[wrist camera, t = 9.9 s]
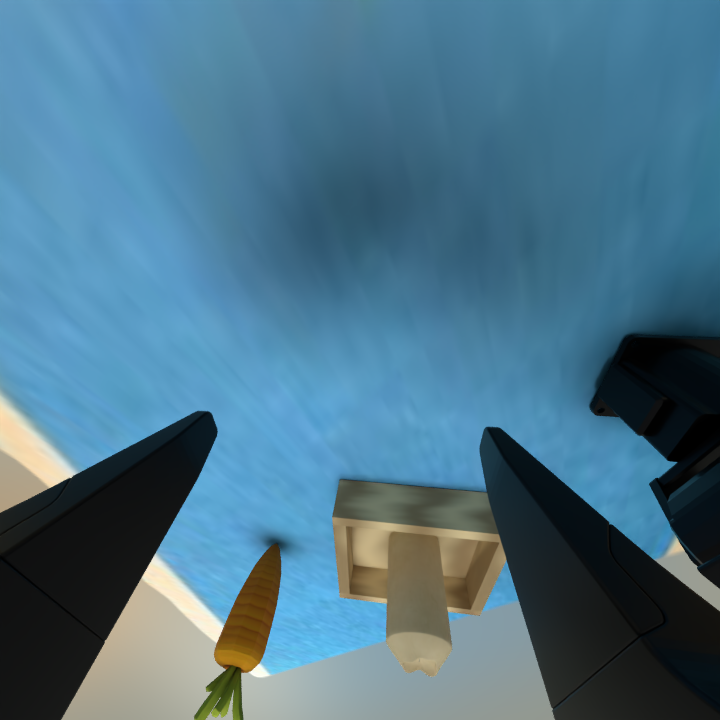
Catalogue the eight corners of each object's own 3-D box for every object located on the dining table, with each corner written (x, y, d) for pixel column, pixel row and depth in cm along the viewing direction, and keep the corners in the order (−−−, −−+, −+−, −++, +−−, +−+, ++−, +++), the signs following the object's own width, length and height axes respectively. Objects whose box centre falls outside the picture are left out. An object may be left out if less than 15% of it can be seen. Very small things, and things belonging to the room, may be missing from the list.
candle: (449, 542, 31) (470, 676, 22) (415, 559, 33) (421, 686, 25) (411, 519, 30) (417, 652, 21) (378, 539, 32) (371, 665, 24)
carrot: (302, 548, 37) (252, 738, 24) (278, 558, 39) (220, 738, 26) (273, 528, 35) (202, 720, 22) (250, 540, 37) (172, 722, 24)
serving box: (502, 494, 28) (517, 536, 24) (471, 575, 36) (479, 615, 32) (339, 479, 29) (332, 517, 26) (345, 560, 37) (339, 597, 34)
